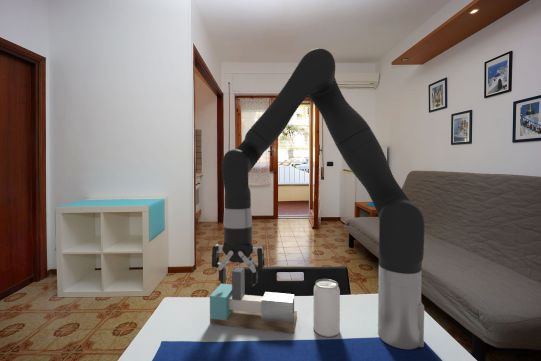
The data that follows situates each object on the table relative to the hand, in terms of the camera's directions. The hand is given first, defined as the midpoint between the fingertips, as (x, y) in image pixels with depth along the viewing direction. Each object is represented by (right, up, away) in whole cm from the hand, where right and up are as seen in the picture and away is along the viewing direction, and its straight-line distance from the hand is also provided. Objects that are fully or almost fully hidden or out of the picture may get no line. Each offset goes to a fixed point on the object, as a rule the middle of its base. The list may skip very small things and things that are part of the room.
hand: (238, 283), depth 74 cm
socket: (-4, -8, +1) cm, 9 cm away
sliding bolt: (+2, -7, 0) cm, 7 cm away
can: (+23, -10, -5) cm, 25 cm away
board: (+4, -10, -1) cm, 11 cm away
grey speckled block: (+11, -8, -2) cm, 14 cm away
